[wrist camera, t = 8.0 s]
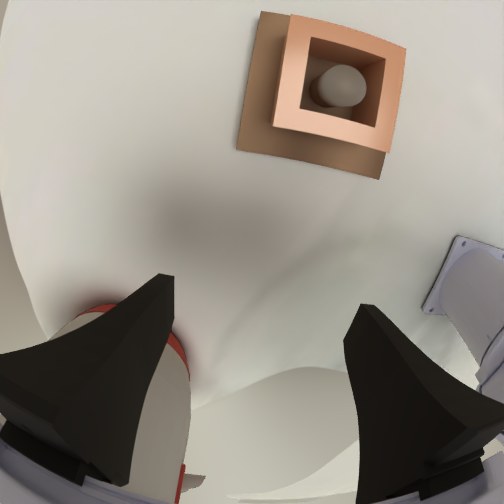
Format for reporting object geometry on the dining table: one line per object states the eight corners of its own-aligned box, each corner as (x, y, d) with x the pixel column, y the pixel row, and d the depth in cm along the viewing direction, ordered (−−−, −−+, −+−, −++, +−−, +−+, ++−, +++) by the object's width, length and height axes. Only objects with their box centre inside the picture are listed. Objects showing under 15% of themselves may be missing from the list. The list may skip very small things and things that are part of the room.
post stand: (394, 54, 13) (437, 41, 8) (370, 174, 17) (406, 199, 12) (261, 18, 13) (260, -17, 8) (238, 146, 17) (228, 160, 12)
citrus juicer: (195, 407, 31) (171, 549, 13) (71, 352, 28) (8, 479, 10) (249, 335, 24) (232, 569, 7) (73, 255, 21) (-61, 433, 4)
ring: (376, 60, 12) (406, 48, 9) (362, 143, 15) (389, 153, 11) (284, 36, 12) (291, 14, 9) (270, 123, 15) (272, 126, 11)
